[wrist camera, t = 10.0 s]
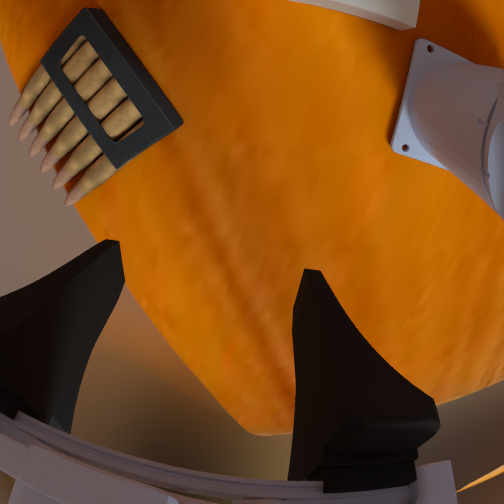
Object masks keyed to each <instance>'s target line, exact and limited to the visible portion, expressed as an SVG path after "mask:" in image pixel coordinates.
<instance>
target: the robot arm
mask: <svg viewBox="0 0 504 504" xmlns="http://www.w3.org/2000/svg"><path fill="white" fill-rule="evenodd" d="M428 45H429V46H430V47H431V52H429V51H428V50H427V46H428ZM404 144H407V148H406V150H402V146H403V145H404ZM390 146H391V149H392V150H393V151H394V152H396V153H399V154H402V155H405V156H408V157H411V158H414V159H417V160H420V161H423V162H426V163H429V164H432V165H435V166H438V167H441V168H443V169H446V170H449V171H451V172H452V173H453V174H454V175H455V176H457V177H458V178H459V179H460V180H461V181H462V182H464V183H465V184H466V185H467V186H468V187H469V188H470V189H472V190H473V191H474V192H475V193H476V194H477V195H478V196H479V197H480V198H482V199H483V200H484V201H485V202H486V203H487V204H488V205H489V206H490V207H491V208H492V209H493V210H494V211H495V212H496V213H497V214H498V215H499V216H500V217H501V218H502V219H503V221H504V69H502V68H497V67H491V66H485V65H479V64H474V63H472V62H471V61H469V60H467V59H465V58H463V57H461V56H459V55H457V54H456V53H454V52H452V51H450V50H448V49H445V48H443V47H441V46H439V45H437V44H435V43H433V42H430V41H428V40H426V39H423V38H420V39H417V40H416V41H415V43H414V49H413V54H412V58H411V63H410V68H409V72H408V77H407V81H406V85H405V89H404V94H403V98H402V102H401V106H400V109H399V113H398V117H397V121H396V124H395V128H394V132H393V135H392V139H391V142H390ZM124 283H125V277H124V271H123V264H122V258H121V250H120V243H119V241H115V240H109V239H105V240H103V241H102V242H100V243H98V244H96V245H95V246H93V247H92V248H90V249H88V250H87V251H85V252H84V253H82V254H80V255H79V256H77V257H76V258H74V259H73V260H71V261H69V262H68V263H66V264H65V265H63V266H61V267H60V268H58V269H56V270H55V271H53V272H51V273H50V274H48V275H47V276H45V277H43V278H41V279H39V280H37V281H35V282H33V283H31V284H29V285H27V286H25V287H23V288H21V289H18V290H16V291H14V292H11V293H9V294H7V295H4V296H2V297H0V470H2V471H4V472H5V473H7V474H8V475H10V476H11V477H13V478H15V479H16V481H15V484H14V487H13V490H12V493H11V496H10V500H9V503H8V504H217V503H212V502H207V501H202V500H198V499H194V498H189V497H185V496H181V495H177V494H173V493H169V492H166V491H163V490H160V489H158V488H155V487H153V486H149V485H147V484H143V483H140V482H137V481H141V482H145V483H148V484H152V485H156V486H160V487H164V488H168V489H173V490H178V491H183V492H188V493H193V494H199V495H204V496H211V497H218V498H225V499H233V500H234V501H232V504H457V497H456V490H455V484H454V478H453V472H452V467H451V461H449V460H445V461H441V462H436V463H431V464H426V465H422V466H419V467H417V468H415V463H414V460H416V459H418V451H417V448H418V447H420V446H421V445H423V444H424V443H425V442H426V441H428V440H429V439H430V438H432V437H433V436H434V435H435V434H436V433H437V431H438V430H439V428H440V420H439V416H438V412H437V408H436V405H435V402H434V399H433V398H431V397H430V396H428V395H427V394H426V393H424V392H423V391H421V390H420V389H419V388H417V387H416V386H414V385H413V384H412V383H410V382H409V381H408V380H407V379H405V378H404V377H403V376H402V375H401V374H399V373H398V372H397V371H396V370H395V369H394V368H393V367H392V366H390V365H389V364H388V363H387V362H386V361H385V360H384V359H383V358H382V357H381V356H380V355H379V354H378V353H377V352H376V350H375V349H374V348H373V347H372V346H371V345H370V344H369V343H368V341H367V340H366V339H365V338H364V337H363V336H362V334H361V333H360V332H359V331H358V329H357V328H356V327H355V325H354V324H353V322H352V321H351V320H350V318H349V317H348V315H347V314H346V312H345V311H344V309H343V308H342V306H341V305H340V303H339V301H338V300H337V298H336V297H335V295H334V293H333V291H332V290H331V288H330V286H329V285H328V283H327V281H326V279H325V278H324V276H323V274H322V273H321V271H319V270H312V269H305V268H304V272H303V275H302V279H301V282H300V286H299V290H298V293H297V297H296V300H295V304H294V307H293V323H292V336H293V350H294V363H295V377H296V397H295V414H294V428H293V438H292V448H291V457H290V465H289V472H288V479H287V481H280V480H265V479H253V478H243V477H234V476H226V475H219V474H212V473H206V472H200V471H194V470H189V469H184V468H179V467H174V466H170V465H165V464H161V463H157V462H153V461H149V460H145V459H141V458H138V457H134V456H130V455H127V454H124V453H121V452H118V451H114V450H111V449H108V448H105V447H102V446H99V445H96V444H94V443H91V442H88V441H86V440H83V439H80V438H78V437H75V436H73V435H70V434H71V426H72V420H73V415H74V409H75V405H76V400H77V396H78V392H79V388H80V385H81V382H82V378H83V375H84V372H85V368H86V366H87V363H88V360H89V357H90V354H91V352H92V349H93V347H94V345H95V343H96V341H97V339H98V337H99V335H100V333H101V331H102V330H103V328H104V326H105V324H106V322H107V320H108V318H109V316H110V315H111V313H112V311H113V309H114V307H115V305H116V303H117V301H118V299H119V296H120V294H121V291H122V288H123V286H124ZM59 452H60V453H59ZM61 453H62V454H61ZM63 454H64V455H63ZM65 455H66V456H65ZM67 456H69V457H71V458H69V457H67ZM72 458H74V459H76V460H74V459H72ZM77 460H78V461H77ZM79 461H81V462H79ZM82 462H84V463H86V464H84V463H82ZM87 464H89V465H91V466H89V465H87ZM92 466H94V467H92ZM95 467H97V468H100V469H102V470H100V469H97V468H95ZM103 470H105V471H103ZM106 471H108V472H106ZM109 472H111V473H109ZM112 473H114V474H112ZM115 474H118V475H120V476H118V475H115ZM121 476H124V477H127V478H124V477H121ZM128 478H130V479H128ZM131 479H134V480H137V481H134V480H131Z"/></svg>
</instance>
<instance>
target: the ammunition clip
mask: <svg viewBox="0 0 504 504" xmlns="http://www.w3.org/2000/svg"><path fill="white" fill-rule="evenodd" d="M40 63H41V65H40V67H39V68H38V69H37V71H36V72H35V74H34V75H33V76H32V78H31V79H30V80H29V82H28V83H27V85H26V87H25V89H24V91H23V93H22V95H21V97H20V99H19V100H18V102H17V104H16V105H15V107H14V109H13V111H12V113H11V116H10V119H9V126H12V125H14V124H15V123H16V122H17V121H19V119H21V117H22V116H23V115H24V114H25V113H26V111H27V110H28V108H30V106H31V105H32V104H33V103H34V101H35V100H37V101H36V103H35V105H34V107H33V109H32V111H31V112H30V114H29V116H28V117H27V119H26V120H25V122H24V124H23V126H22V128H21V130H20V133H19V138H18V141H19V142H20V141H22V140H24V139H25V138H27V137H28V136H29V135H30V134H31V133H32V132H33V131H34V130H35V129H36V127H37V126H38V125H39V124H40V123H41V122H42V120H43V119H44V118H45V117H46V116H47V115H48V114H50V115H49V116H48V118H47V120H46V122H45V124H44V125H43V127H42V128H41V130H40V132H39V133H38V134H37V136H36V137H35V139H34V141H33V143H32V145H31V147H30V150H29V157H32V156H34V155H35V154H37V153H38V152H39V151H41V150H42V149H43V148H44V147H45V146H46V145H47V144H48V142H49V141H50V140H51V139H52V138H53V137H54V136H55V135H56V134H57V133H58V132H60V131H61V130H62V129H63V128H64V127H65V126H66V125H67V124H68V123H69V122H70V123H69V124H68V125H67V126H66V127H65V128H64V129H63V131H62V132H61V133H60V135H59V137H58V139H57V140H56V142H55V143H54V144H53V146H52V148H51V149H50V150H49V151H48V153H47V154H46V156H45V158H44V159H43V162H42V164H41V167H40V172H41V173H42V172H45V171H47V170H49V169H50V168H51V167H53V166H54V165H55V164H56V163H57V162H58V161H59V160H60V159H61V158H62V157H63V156H64V155H65V154H66V153H67V152H68V151H70V150H71V149H73V148H74V147H75V146H76V145H77V144H78V143H79V142H80V141H81V140H82V139H83V138H84V137H85V136H86V135H87V134H88V133H89V135H88V136H87V138H86V139H85V140H84V141H83V142H82V143H81V144H80V145H79V146H78V147H77V148H76V149H75V150H74V151H73V153H72V155H71V156H70V158H69V159H68V161H67V162H66V163H65V164H64V166H63V167H62V168H61V169H60V171H59V172H58V174H57V175H56V177H55V179H54V181H53V184H52V189H56V188H59V187H61V186H62V185H64V184H65V183H67V182H68V181H69V180H70V179H71V178H72V177H73V176H74V175H76V174H77V173H78V172H79V171H80V170H82V169H84V168H85V167H87V166H88V165H89V164H90V163H91V162H92V161H94V160H95V159H96V158H97V157H98V156H99V155H100V154H101V153H102V152H103V153H104V154H103V155H102V156H101V157H100V158H99V159H98V160H96V161H95V162H94V163H93V164H92V165H91V166H90V167H89V168H88V170H87V171H86V172H85V174H84V176H83V177H82V178H81V179H80V180H79V181H78V183H77V184H76V185H75V186H74V187H73V188H72V189H71V191H70V192H69V194H68V195H67V197H66V200H65V205H66V206H68V205H71V204H74V203H75V202H77V201H79V200H80V199H82V198H83V197H84V196H85V195H86V194H88V193H89V192H91V191H92V190H93V189H94V188H96V187H98V186H100V185H102V184H103V183H104V182H105V181H107V180H108V179H109V178H110V177H111V176H113V175H114V174H115V173H116V172H117V171H119V170H120V169H121V168H122V167H124V166H125V165H126V164H127V163H129V162H130V161H131V160H132V159H134V158H135V157H136V156H138V155H139V154H140V153H142V152H143V151H144V150H145V149H147V148H148V147H150V146H151V145H153V144H154V143H156V142H157V141H159V140H160V139H162V138H163V137H165V136H167V135H168V134H170V133H171V132H173V131H174V130H176V129H177V128H179V127H180V126H181V125H183V120H182V119H181V117H180V116H179V114H178V113H177V112H176V110H175V109H174V107H173V106H172V105H171V103H170V102H169V100H168V99H167V98H166V96H165V95H164V94H163V92H162V91H161V89H160V88H159V87H158V85H157V84H156V82H155V81H154V80H153V78H152V77H151V75H150V74H149V73H148V71H147V70H146V69H145V67H144V66H143V64H142V63H141V62H140V60H139V59H138V58H137V56H136V55H135V54H134V52H133V51H132V49H131V48H130V47H129V45H128V44H127V43H126V41H125V40H124V39H123V37H122V36H121V34H120V33H119V32H118V30H117V29H116V28H115V26H114V25H113V24H112V22H111V21H110V20H109V18H108V17H107V16H106V14H105V13H104V12H103V10H102V9H96V8H85V7H84V8H83V9H82V10H81V11H80V12H79V14H78V15H77V16H76V17H75V18H74V19H73V20H72V21H71V23H70V24H69V25H68V26H67V27H66V29H65V30H64V31H63V32H62V33H61V35H60V36H59V37H58V38H57V40H56V41H55V42H54V43H53V45H52V46H51V47H50V49H49V50H48V51H47V53H46V54H45V55H44V57H43V58H42V60H41V61H40ZM127 97H128V99H127V100H125V99H126V98H127ZM124 100H125V101H124ZM122 101H124V102H123V103H122V104H121V105H120V106H119V107H118V108H117V109H115V108H116V107H117V106H118V105H119V104H120V103H121V102H122ZM113 109H115V110H114V111H113V112H112V113H111V114H110V112H111V111H112V110H113ZM75 115H76V116H75ZM74 116H75V117H74ZM73 117H74V118H73ZM72 118H73V119H72ZM142 118H143V120H142V121H141V122H140V123H138V124H137V125H136V126H135V127H134V128H132V129H131V130H130V131H129V132H128V133H127V134H126V133H125V132H126V131H128V130H129V129H130V128H131V127H132V126H134V125H135V124H136V123H137V122H139V121H140V120H141V119H142Z"/></svg>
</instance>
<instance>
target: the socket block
mask: <svg viewBox="0 0 504 504" xmlns="http://www.w3.org/2000/svg"><path fill="white" fill-rule="evenodd" d="M290 1H295V2H301V3H306V4H311V5H315V6H320V7H324V8H328V9H333V10H337V11H340V12H344V13H348V14H351V15H355V16H358V17H362V18H365V19H368V20H371V21H374V22H377V23H380V24H383V25H386V26H389V27H392V28H394V29H397V30H400V31H401V30H407V29H412V28H416V24H417V18H418V12H419V5H420V0H290Z"/></svg>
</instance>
